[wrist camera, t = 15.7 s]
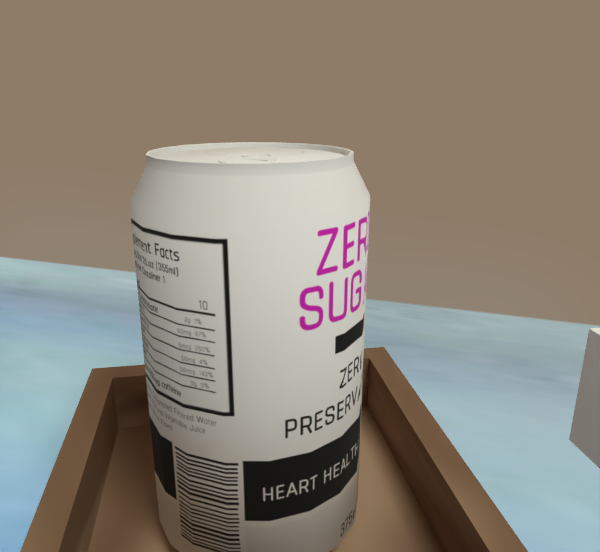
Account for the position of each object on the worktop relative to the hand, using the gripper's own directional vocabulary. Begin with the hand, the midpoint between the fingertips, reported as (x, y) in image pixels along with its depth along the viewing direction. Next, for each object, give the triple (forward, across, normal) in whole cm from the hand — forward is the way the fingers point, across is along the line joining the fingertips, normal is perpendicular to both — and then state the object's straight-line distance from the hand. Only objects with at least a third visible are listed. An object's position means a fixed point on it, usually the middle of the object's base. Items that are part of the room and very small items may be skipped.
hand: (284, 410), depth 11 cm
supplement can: (+10, 0, -11) cm, 15 cm away
